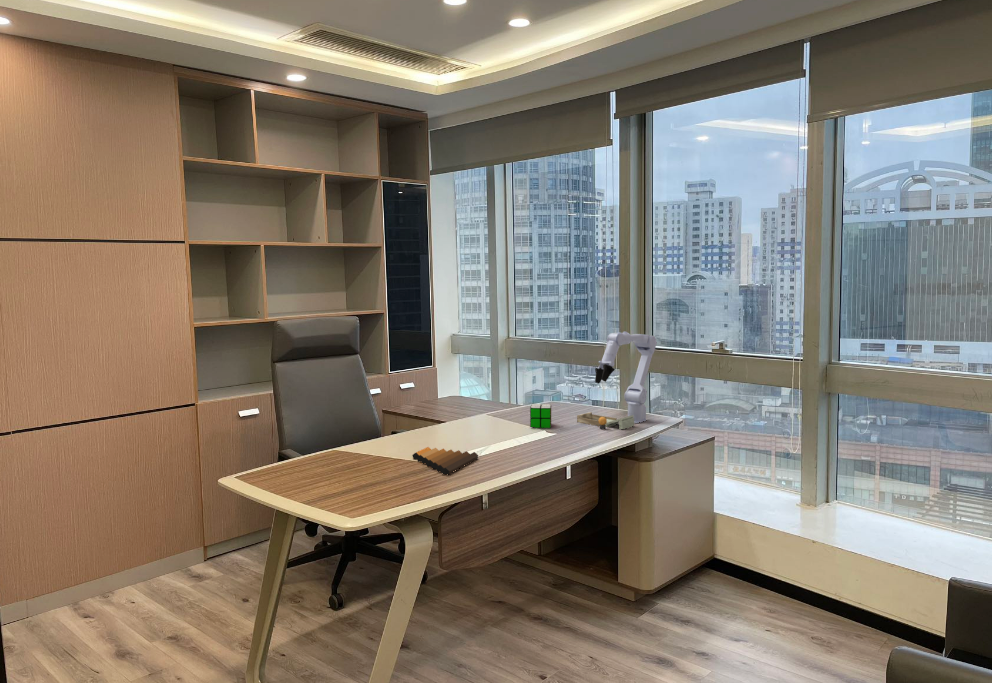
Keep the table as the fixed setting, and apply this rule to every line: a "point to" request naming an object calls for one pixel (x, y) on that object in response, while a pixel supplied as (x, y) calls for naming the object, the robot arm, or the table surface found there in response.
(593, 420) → the wooden tray
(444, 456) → the brown ridged panel
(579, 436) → the table surface
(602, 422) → the ball
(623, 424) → the ramp
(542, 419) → the puzzle cube
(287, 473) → the table surface
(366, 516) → the table surface
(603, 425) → the tee
